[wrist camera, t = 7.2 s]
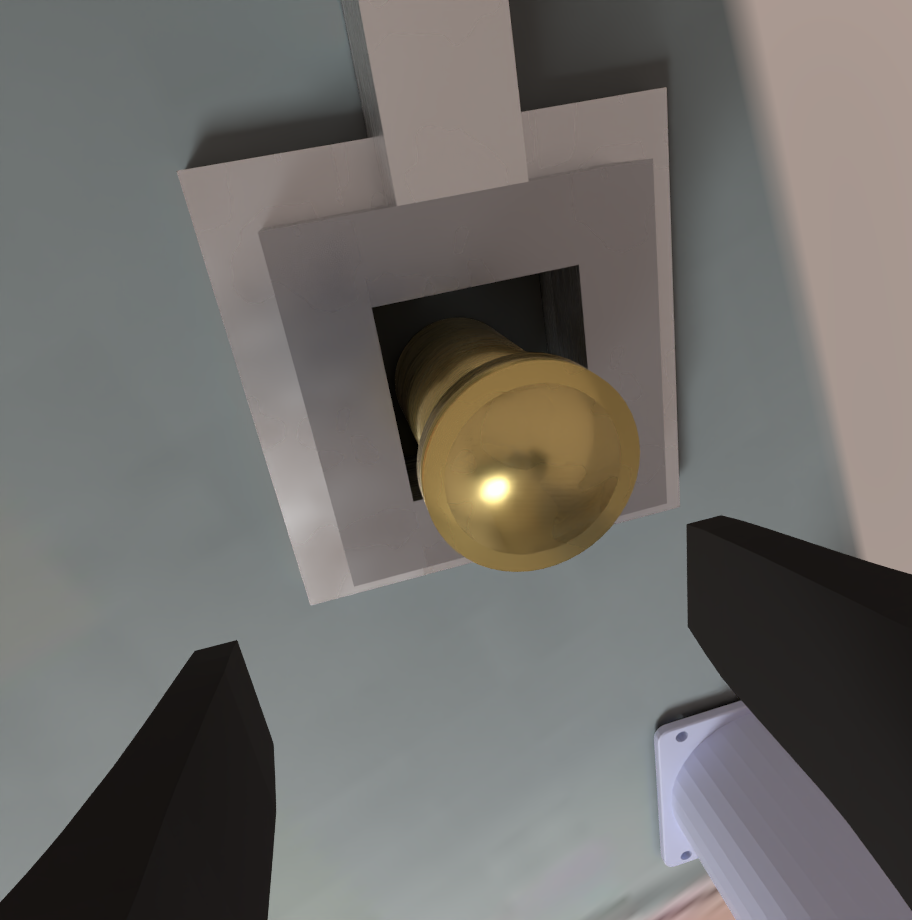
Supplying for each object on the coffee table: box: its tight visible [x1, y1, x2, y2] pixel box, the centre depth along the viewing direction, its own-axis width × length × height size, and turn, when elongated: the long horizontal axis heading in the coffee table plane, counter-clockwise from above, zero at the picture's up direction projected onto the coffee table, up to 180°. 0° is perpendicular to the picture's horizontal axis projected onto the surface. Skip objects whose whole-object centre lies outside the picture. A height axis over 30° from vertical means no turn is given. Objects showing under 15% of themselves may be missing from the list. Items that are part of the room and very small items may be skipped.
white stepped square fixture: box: [177, 0, 680, 605], centre depth 15 cm, size 12×24×3 cm, turn 10°
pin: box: [394, 317, 640, 572], centre depth 16 cm, size 4×4×7 cm
